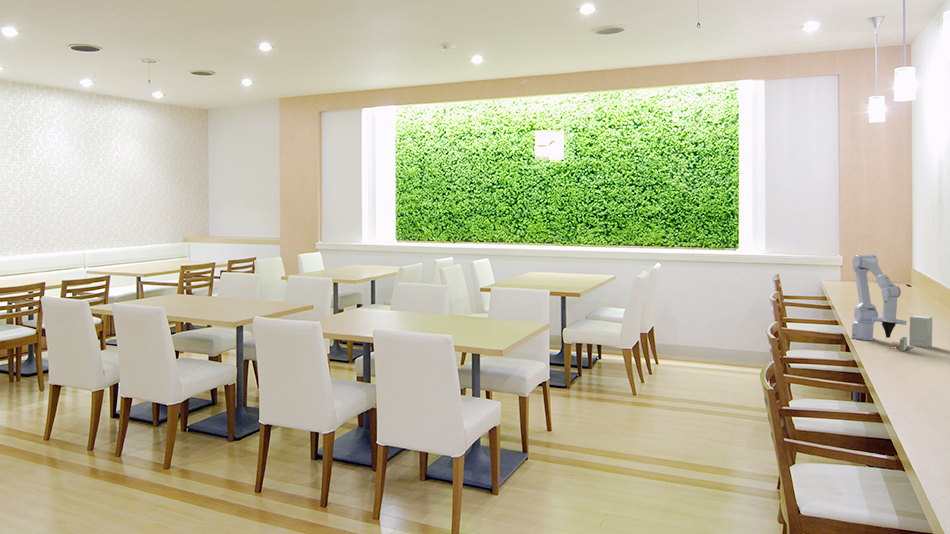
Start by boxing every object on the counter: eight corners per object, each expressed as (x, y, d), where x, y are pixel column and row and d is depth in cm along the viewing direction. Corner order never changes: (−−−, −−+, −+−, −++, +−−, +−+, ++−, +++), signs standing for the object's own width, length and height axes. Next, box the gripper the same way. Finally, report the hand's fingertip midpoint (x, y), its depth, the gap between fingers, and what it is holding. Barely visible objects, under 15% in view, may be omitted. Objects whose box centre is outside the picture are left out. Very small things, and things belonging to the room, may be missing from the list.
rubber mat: (889, 348, 327) (889, 347, 327) (894, 345, 334) (894, 344, 334) (908, 350, 322) (908, 350, 322) (913, 347, 329) (913, 347, 329)
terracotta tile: (890, 343, 329) (904, 345, 324) (893, 341, 333) (907, 343, 329) (889, 346, 329) (903, 348, 325) (892, 345, 333) (906, 346, 329)
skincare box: (932, 346, 331) (934, 317, 329) (926, 348, 328) (928, 318, 326) (913, 343, 338) (915, 314, 336) (907, 345, 335) (909, 315, 333)
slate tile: (899, 351, 320) (900, 339, 319) (902, 348, 324) (903, 336, 323) (903, 352, 319) (904, 339, 318) (906, 349, 323) (907, 337, 322)
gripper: (870, 309, 333) (869, 336, 334) (904, 313, 323) (903, 340, 324) (874, 308, 338) (873, 334, 339) (908, 311, 328) (906, 338, 329)
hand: (888, 337), depth 332 cm, fingers closed
